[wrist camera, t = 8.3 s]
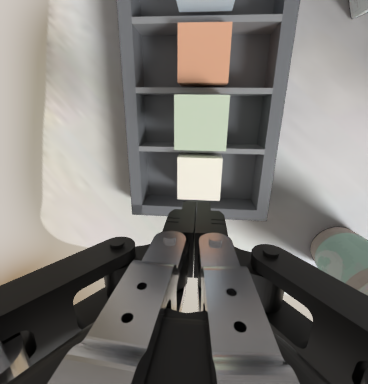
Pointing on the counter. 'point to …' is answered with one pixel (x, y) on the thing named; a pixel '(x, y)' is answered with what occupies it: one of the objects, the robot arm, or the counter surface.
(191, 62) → the orange cube
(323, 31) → the counter surface
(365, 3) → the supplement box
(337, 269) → the coffee cup
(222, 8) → the pale blue cube
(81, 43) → the counter surface
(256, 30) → the grey compartment tray
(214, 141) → the pale green cube
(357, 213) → the counter surface
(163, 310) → the robot arm
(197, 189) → the cream cube
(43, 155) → the counter surface
